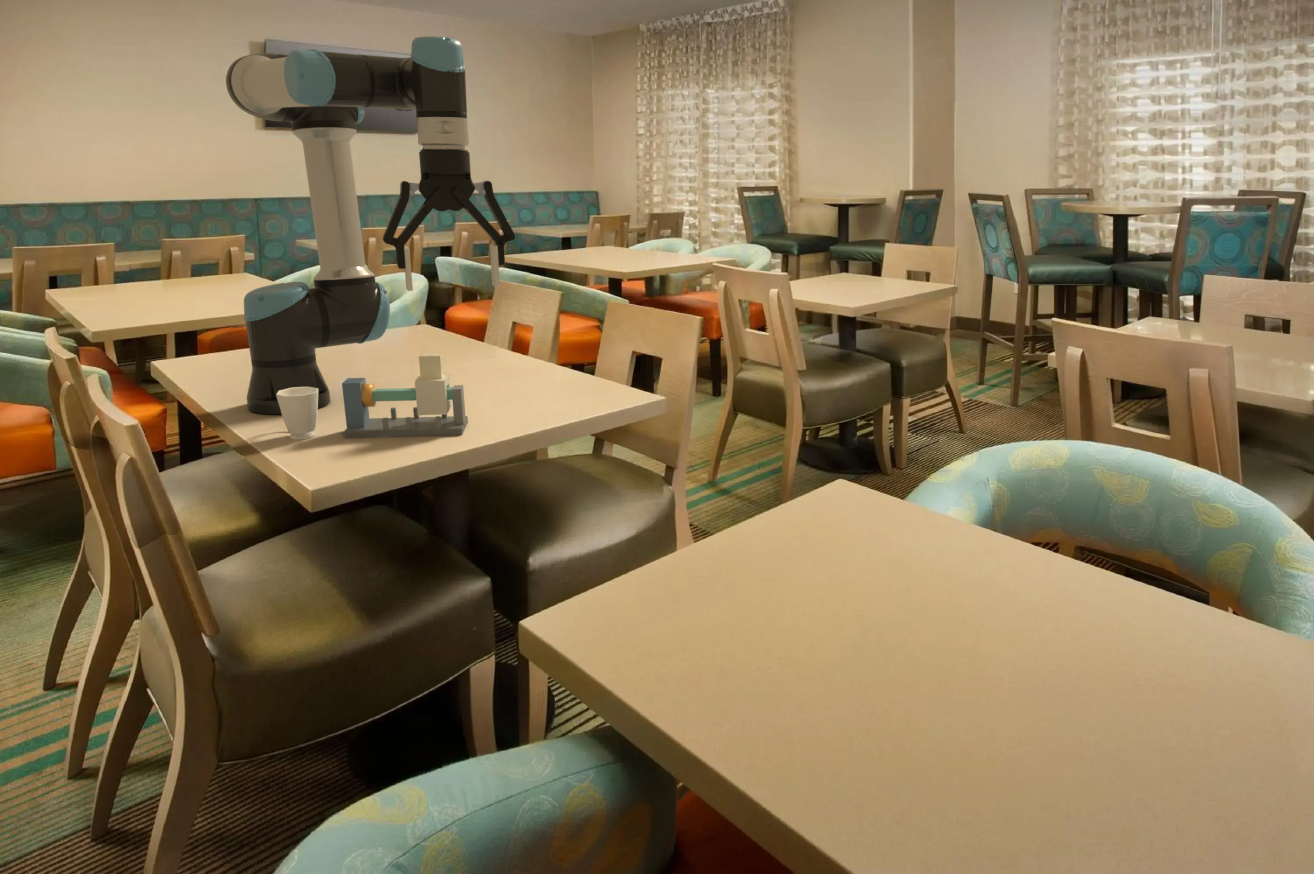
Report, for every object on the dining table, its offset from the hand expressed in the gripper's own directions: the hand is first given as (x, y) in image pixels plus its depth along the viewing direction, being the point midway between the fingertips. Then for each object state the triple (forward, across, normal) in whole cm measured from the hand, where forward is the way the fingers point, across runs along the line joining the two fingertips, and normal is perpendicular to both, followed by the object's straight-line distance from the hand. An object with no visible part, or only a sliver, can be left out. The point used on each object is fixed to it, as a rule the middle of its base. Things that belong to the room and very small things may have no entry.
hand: (453, 288), depth 140 cm
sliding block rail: (+26, -8, +12) cm, 30 cm away
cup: (+27, -26, +16) cm, 40 cm away
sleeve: (+23, -3, +10) cm, 25 cm away
